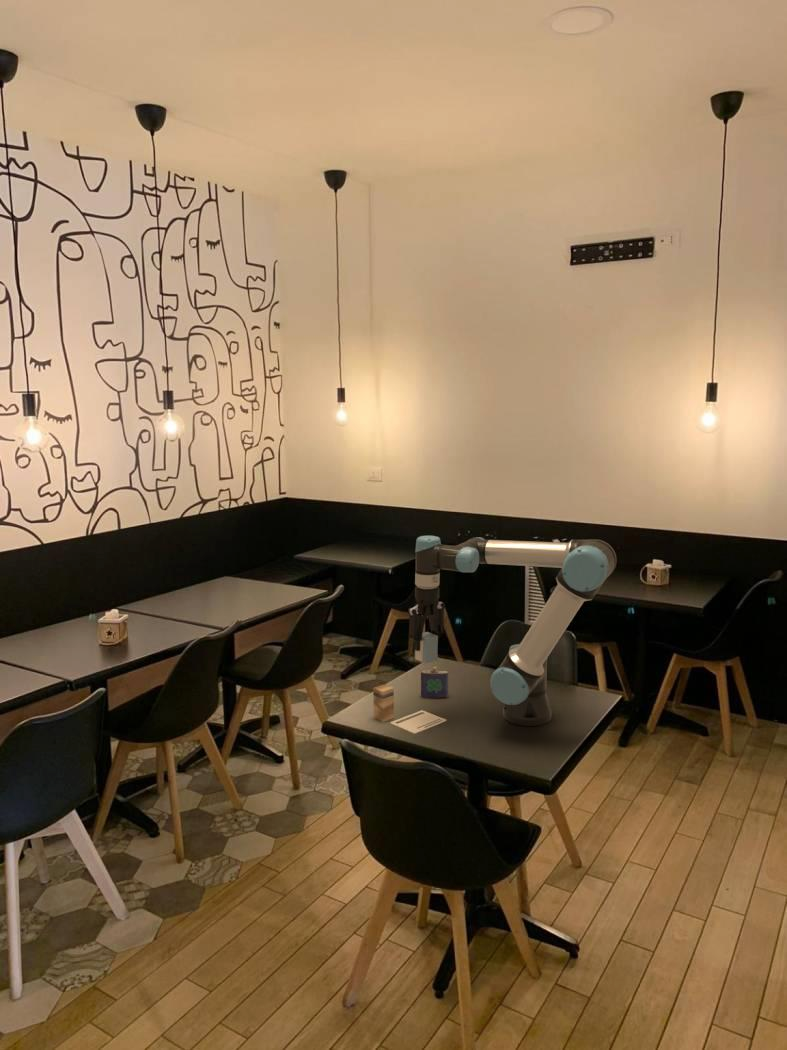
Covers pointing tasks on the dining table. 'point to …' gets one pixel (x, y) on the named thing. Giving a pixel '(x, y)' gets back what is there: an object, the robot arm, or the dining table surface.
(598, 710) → the dining table surface
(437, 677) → the flask
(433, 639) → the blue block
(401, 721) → the menu card
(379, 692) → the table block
